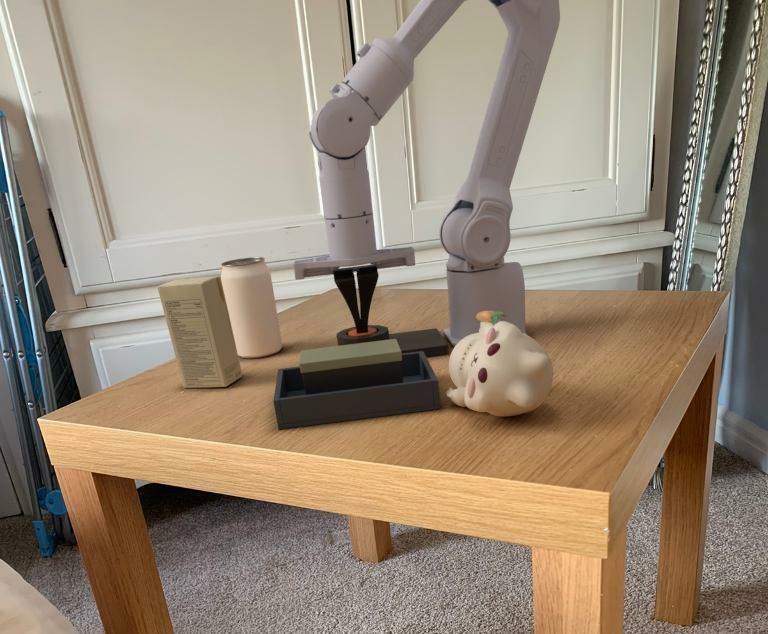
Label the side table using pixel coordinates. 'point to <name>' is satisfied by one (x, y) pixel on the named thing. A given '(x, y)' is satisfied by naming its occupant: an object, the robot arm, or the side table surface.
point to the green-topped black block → (351, 366)
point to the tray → (356, 396)
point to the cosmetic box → (200, 331)
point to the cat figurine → (499, 369)
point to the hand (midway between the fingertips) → (362, 331)
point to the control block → (401, 340)
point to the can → (251, 307)
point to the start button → (354, 333)
